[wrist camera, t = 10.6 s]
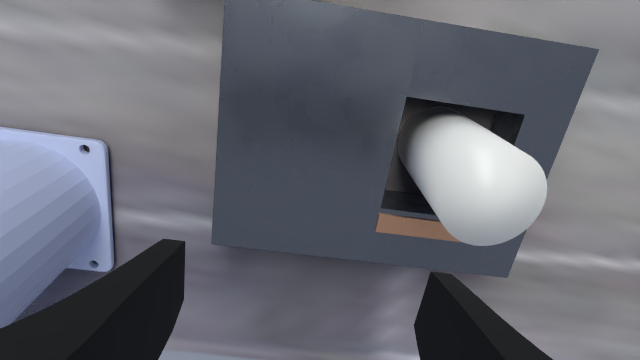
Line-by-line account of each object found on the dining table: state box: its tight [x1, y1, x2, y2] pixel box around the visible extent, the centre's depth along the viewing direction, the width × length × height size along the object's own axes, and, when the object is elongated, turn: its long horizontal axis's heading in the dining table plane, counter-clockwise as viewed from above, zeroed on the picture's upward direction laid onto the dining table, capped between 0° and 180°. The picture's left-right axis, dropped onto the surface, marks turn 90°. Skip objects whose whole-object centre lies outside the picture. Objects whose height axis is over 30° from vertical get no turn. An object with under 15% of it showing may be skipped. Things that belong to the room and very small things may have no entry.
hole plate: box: [212, 0, 599, 278], centre depth 19 cm, size 16×12×3 cm
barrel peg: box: [398, 106, 547, 246], centre depth 17 cm, size 4×4×7 cm
